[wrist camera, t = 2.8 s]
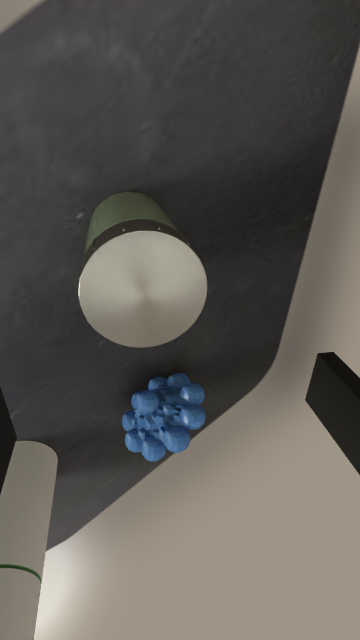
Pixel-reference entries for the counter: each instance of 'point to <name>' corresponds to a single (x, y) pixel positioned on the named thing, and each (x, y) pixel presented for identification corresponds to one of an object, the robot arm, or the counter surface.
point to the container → (24, 536)
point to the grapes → (164, 416)
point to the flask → (124, 213)
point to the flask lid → (141, 283)
